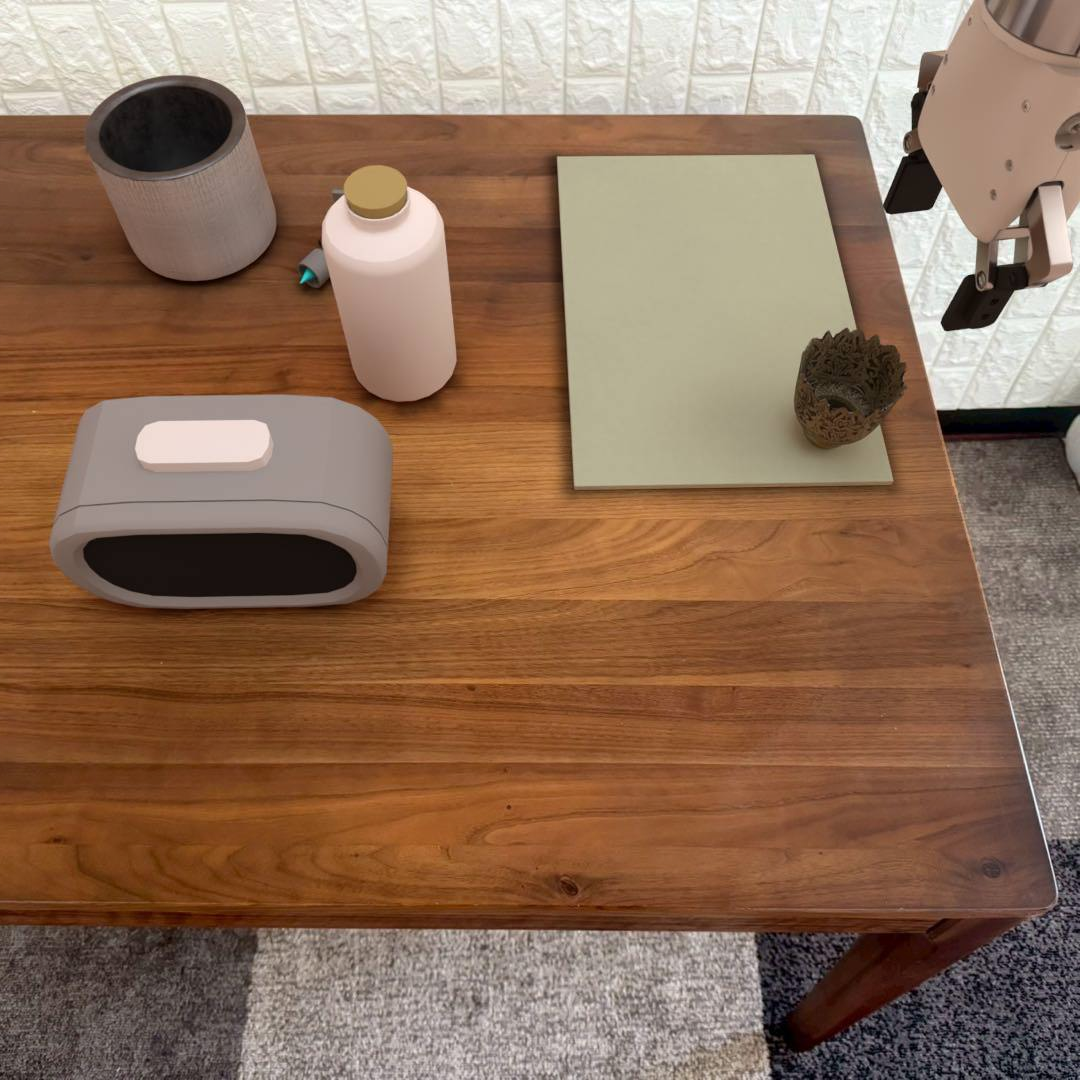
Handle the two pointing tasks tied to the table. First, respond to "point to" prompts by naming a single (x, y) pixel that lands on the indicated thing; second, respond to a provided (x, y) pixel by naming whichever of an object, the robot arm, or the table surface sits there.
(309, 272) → the toy gun
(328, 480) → the alarm clock
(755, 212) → the mat
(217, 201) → the planter
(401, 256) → the potion bottle
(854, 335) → the brown jagged-rimmed vessel
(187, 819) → the table surface
